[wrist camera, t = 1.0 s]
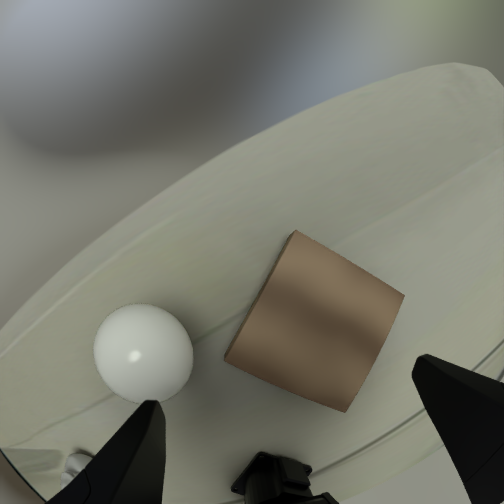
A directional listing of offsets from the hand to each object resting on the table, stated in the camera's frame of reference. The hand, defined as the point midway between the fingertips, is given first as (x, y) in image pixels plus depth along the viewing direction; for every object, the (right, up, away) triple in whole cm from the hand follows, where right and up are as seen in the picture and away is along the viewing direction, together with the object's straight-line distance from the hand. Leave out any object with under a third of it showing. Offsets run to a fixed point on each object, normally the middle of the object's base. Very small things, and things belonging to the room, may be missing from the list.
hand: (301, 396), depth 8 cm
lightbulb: (-9, -3, +15) cm, 18 cm away
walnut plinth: (+4, -2, +16) cm, 17 cm away
